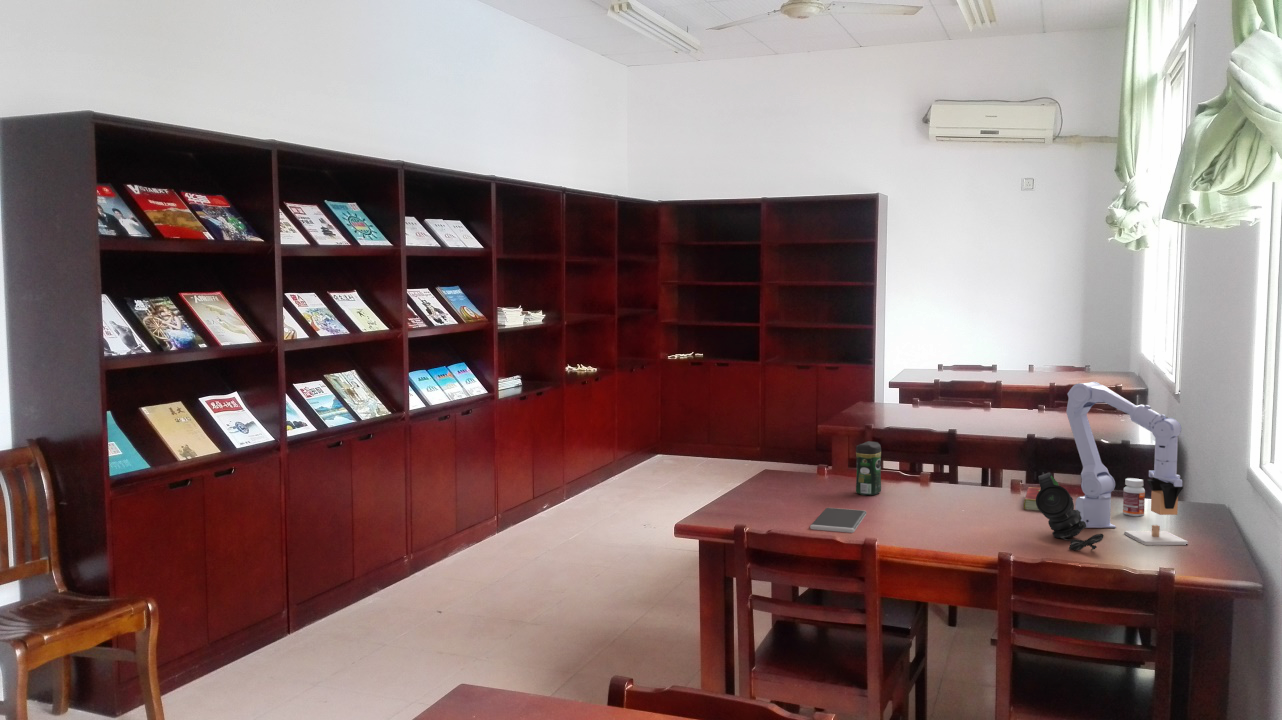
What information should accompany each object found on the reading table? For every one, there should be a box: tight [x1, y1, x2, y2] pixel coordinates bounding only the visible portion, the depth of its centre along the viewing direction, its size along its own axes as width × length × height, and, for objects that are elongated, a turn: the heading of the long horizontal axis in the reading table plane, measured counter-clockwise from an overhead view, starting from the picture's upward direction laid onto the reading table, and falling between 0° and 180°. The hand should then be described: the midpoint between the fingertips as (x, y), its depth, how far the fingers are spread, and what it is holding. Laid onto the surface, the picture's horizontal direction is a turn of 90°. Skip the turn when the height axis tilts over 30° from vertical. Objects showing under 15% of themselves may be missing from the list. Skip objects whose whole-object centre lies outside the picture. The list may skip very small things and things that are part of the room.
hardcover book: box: [1023, 486, 1041, 511], centre depth 320 cm, size 12×21×4 cm, turn 155°
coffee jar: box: [855, 440, 882, 496], centre depth 339 cm, size 10×8×19 cm
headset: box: [1036, 471, 1105, 551], centre depth 274 cm, size 18×14×29 cm
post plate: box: [1123, 524, 1189, 546], centre depth 274 cm, size 12×12×4 cm
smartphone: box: [809, 507, 867, 534], centre depth 299 cm, size 13×27×2 cm, turn 158°
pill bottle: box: [1122, 477, 1146, 517], centre depth 305 cm, size 6×6×11 cm
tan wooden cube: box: [1150, 490, 1179, 516], centre depth 276 cm, size 5×5×6 cm
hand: (1164, 506), depth 276 cm, fingers closed on tan wooden cube, 5 cm apart
